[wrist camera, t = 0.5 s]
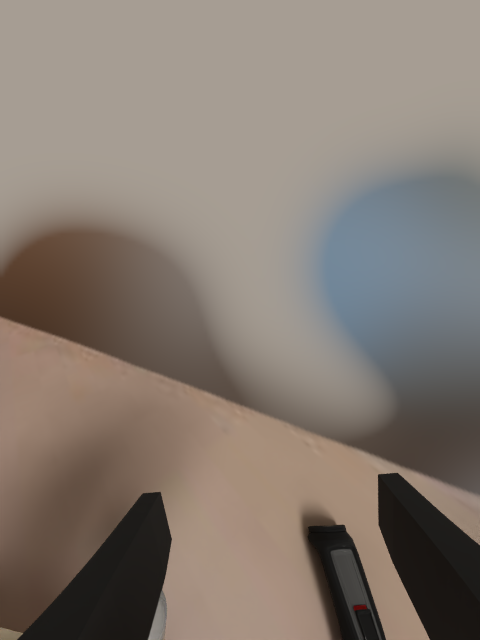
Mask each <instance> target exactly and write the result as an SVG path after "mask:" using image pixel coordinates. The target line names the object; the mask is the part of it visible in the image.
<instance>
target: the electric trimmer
mask: <svg viewBox="0 0 480 640" xmlns="http://www.w3.org/2000/svg"><path fill="white" fill-rule="evenodd" d="M308 529H309V532H311V533H310V534H309V535H308V539H309V541H310V542H311V543H312V544H313V545H314V546H315V548H316V549H317V550H318V552H319V554H320V557H321V560H322V563H323V567H324V570H325V574H326V577H327V581H328V584H329V588H330V591H331V595H332V599H333V602H334V606H335V609H336V613H337V616H338V620H339V625H340V629H341V633H342V638H343V640H386V638H385V635H384V631H383V628H382V624H381V621H380V618H379V615H378V612H377V609H376V606H375V603H374V600H373V597H372V594H371V591H370V588H369V585H368V581H367V578H366V575H365V572H364V569H363V566H362V563H361V560H360V557H359V554H358V552H357V549H356V547H355V544H354V542H353V539H352V538H351V537H350V535H349V534H348V533H347V532H346V528H345V525H333V526H309V527H308Z"/></svg>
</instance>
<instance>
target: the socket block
mask: <svg viewBox="0 0 480 640" xmlns="http://www.w3.org/2000/svg"><path fill="white" fill-rule="evenodd" d="M22 634H23V633H20V632H16V631H12V630H9V629H5V628H1V627H0V640H17V639H18V638H19V637H20V636H21V635H22Z"/></svg>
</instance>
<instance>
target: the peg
mask: <svg viewBox="0 0 480 640" xmlns="http://www.w3.org/2000/svg"><path fill="white" fill-rule="evenodd" d="M166 616H167V604H166V599H165V595H164V593H163V591H161V595H160V598H159V602H158V606H157V609H156V613H155V617H154V620H153V624H152V628H151V631H150V635H149V638H148V640H165V629H166Z"/></svg>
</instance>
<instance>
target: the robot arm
mask: <svg viewBox="0 0 480 640" xmlns="http://www.w3.org/2000/svg"><path fill="white" fill-rule="evenodd" d="M378 515H379V527H380V530H381V533H382V535H383V538H384V541H385V543H386V546H387V549H388V551H389V554H390V556H391V559H392V562H393V564H394V566H395V568H396V570H397V572H398V574H399V577H400V579H401V581H402V583H403V585H404V587H405V589H406V591H407V593H408V595H409V597H410V599H411V601H412V603H413V605H414V607H415V610H416V612H417V614H418V616H419V618H420V620H421V622H422V624H423V626H424V628H425V630H426V632H427V634H428V636H429V638H430V640H480V545H479V544H477V543H476V542H475V541H474V540H473V539H471V538H470V537H469V536H468V535H467V534H466V533H464V532H463V531H462V530H461V529H460V528H459V527H457V526H456V525H455V524H454V523H453V522H452V521H450V520H449V519H448V518H447V517H446V516H445V515H444V514H442V513H441V512H440V511H439V510H438V509H437V508H436V507H435V506H433V505H432V504H431V503H430V502H429V501H428V500H427V499H426V498H425V497H424V496H422V495H421V494H420V493H419V492H418V491H417V490H416V489H415V488H414V487H413V486H412V485H410V484H409V483H408V482H407V481H406V480H405V479H404V478H403V477H402V476H401V475H399V474H398V473H390V474H378ZM171 540H172V538H171V534H170V530H169V526H168V521H167V517H166V513H165V509H164V504H163V500H162V496H161V492H154V493H143V494H142V495H141V496H140V498H139V499H138V500H137V501H136V503H135V504H134V505H133V507H132V508H131V509H130V510H129V512H128V513H127V514H126V515H125V517H124V518H123V519H122V521H121V522H120V523H119V524H118V526H117V527H116V528H115V529H114V531H113V532H112V533H111V535H110V536H109V537H108V538H107V539H106V541H105V542H104V543H103V544H102V546H101V547H100V548H99V549H98V551H97V552H96V553H95V554H94V555H93V557H92V558H91V559H90V560H89V561H88V563H87V564H86V565H85V566H84V567H83V569H82V570H81V571H80V572H79V573H78V574H77V575H76V577H75V578H74V579H73V580H72V581H71V582H70V583H69V585H68V586H67V587H66V588H65V589H64V590H63V591H62V593H61V594H60V595H59V596H58V597H57V598H56V599H55V600H54V601H53V603H52V604H51V605H50V606H49V607H48V608H47V609H46V610H45V611H44V612H43V613H42V614H41V615H40V616H39V618H38V619H37V620H36V621H35V622H34V623H33V624H32V625H31V626H30V627H29V628H28V629H27V630H26V631H25V632H24V633H23V634H22V635H21V636H20V637H19V638H18V639H17V640H148V638H149V635H150V631H151V628H152V624H153V620H154V617H155V613H156V609H157V606H158V602H159V598H160V595H161V591H162V587H163V583H164V580H165V575H166V570H167V564H168V559H169V553H170V547H171Z"/></svg>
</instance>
